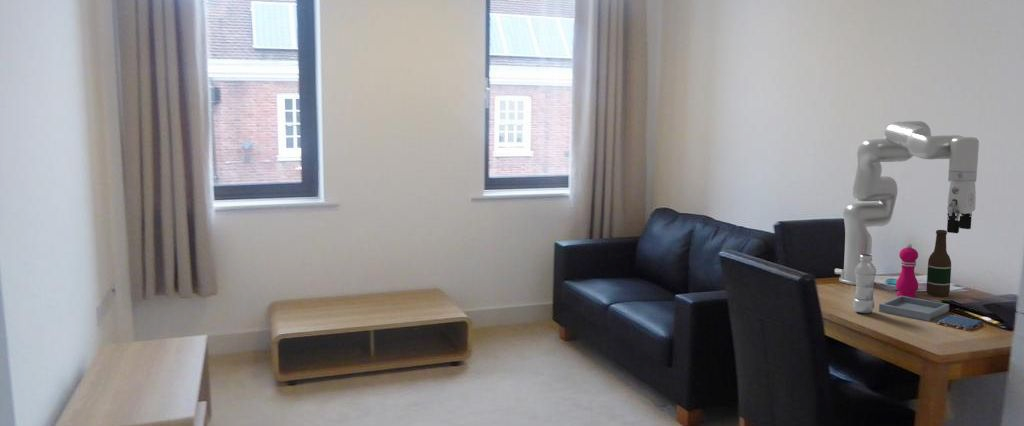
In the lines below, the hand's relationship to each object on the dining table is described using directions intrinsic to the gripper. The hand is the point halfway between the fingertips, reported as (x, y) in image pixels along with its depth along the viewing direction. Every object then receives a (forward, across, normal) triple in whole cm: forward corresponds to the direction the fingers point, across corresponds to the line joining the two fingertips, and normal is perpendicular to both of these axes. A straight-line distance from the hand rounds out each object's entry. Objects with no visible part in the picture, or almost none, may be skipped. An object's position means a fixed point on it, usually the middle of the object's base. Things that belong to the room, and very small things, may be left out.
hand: (958, 230), depth 230 cm
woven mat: (+31, 0, -2) cm, 31 cm away
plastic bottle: (+31, -8, +25) cm, 40 cm away
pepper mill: (+31, +21, +23) cm, 43 cm away
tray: (+30, +5, +14) cm, 34 cm away
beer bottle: (+31, +33, +17) cm, 48 cm away
